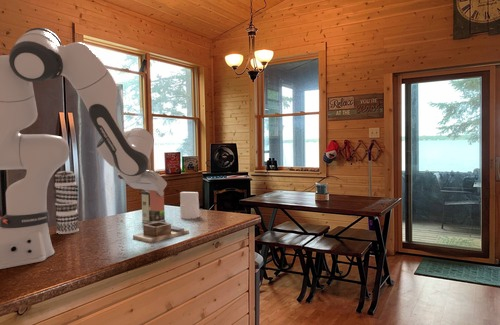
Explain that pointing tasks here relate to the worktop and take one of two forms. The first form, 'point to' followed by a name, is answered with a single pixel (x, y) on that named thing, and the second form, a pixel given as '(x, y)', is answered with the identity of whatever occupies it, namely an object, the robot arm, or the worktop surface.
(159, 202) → the red rectangular block
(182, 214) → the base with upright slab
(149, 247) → the worktop surface
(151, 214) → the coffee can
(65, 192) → the decorative candle
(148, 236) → the jig
